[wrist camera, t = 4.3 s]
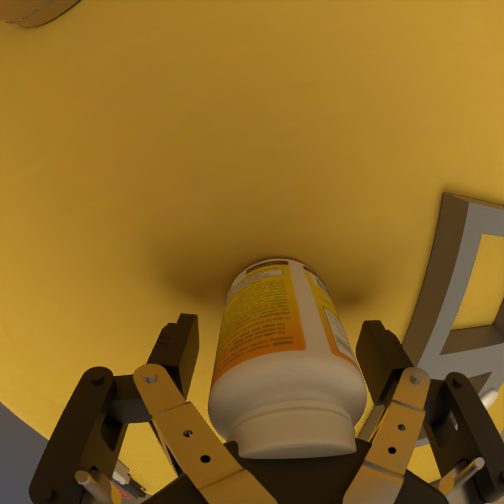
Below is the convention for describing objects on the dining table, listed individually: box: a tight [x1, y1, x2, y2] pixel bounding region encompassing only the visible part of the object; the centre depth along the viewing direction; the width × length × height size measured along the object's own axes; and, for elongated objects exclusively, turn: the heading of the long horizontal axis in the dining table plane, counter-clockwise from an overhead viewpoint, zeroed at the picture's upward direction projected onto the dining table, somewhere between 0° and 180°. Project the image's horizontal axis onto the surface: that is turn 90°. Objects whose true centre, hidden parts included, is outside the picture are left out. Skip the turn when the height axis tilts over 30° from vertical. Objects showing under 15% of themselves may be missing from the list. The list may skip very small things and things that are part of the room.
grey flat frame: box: [357, 192, 504, 448], centre depth 16 cm, size 22×13×3 cm, turn 177°
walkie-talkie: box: [111, 459, 146, 501], centre depth 24 cm, size 9×4×20 cm
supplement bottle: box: [208, 259, 367, 459], centre depth 11 cm, size 6×6×10 cm
